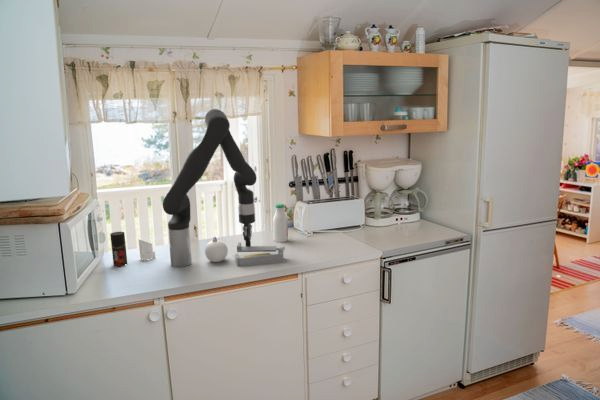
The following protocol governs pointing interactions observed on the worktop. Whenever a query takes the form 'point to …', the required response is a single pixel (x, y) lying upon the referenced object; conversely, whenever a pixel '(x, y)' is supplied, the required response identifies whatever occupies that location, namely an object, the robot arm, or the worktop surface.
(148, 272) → the worktop surface
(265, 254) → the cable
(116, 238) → the deodorant
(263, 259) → the grey tray
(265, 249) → the cover
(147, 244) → the white wedge bracket
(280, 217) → the milk bottle
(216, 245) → the ornament
